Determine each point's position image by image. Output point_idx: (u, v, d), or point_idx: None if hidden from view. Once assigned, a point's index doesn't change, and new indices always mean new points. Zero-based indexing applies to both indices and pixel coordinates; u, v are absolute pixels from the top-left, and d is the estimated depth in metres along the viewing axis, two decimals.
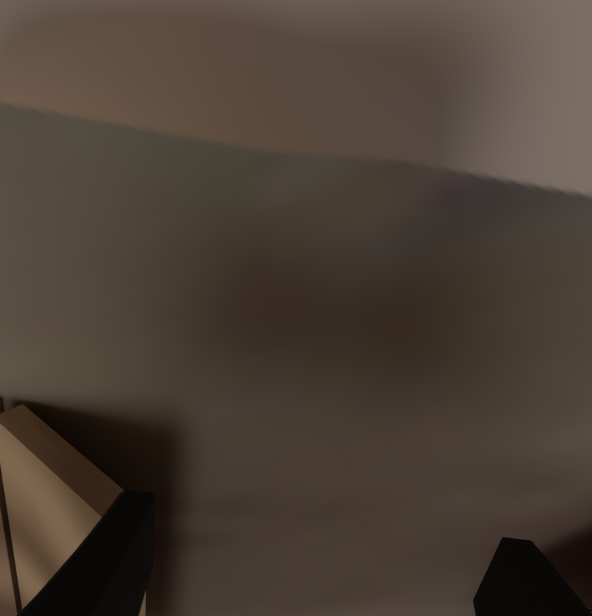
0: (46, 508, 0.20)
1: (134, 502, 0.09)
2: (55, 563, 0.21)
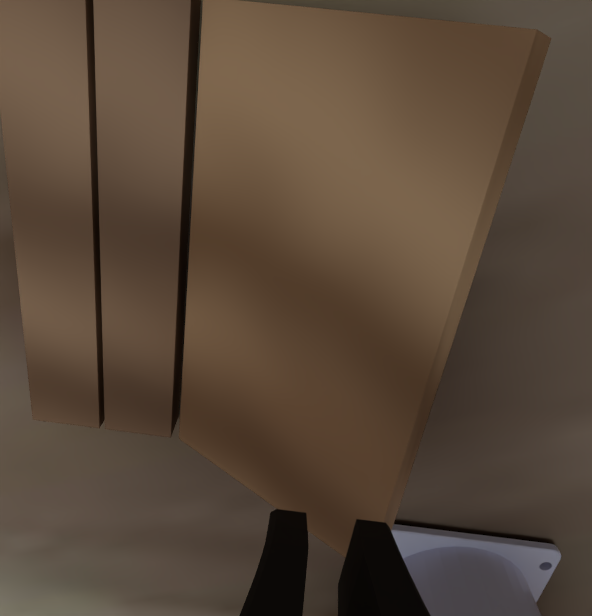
0: (303, 127, 0.12)
1: (292, 522, 0.10)
2: (296, 250, 0.13)
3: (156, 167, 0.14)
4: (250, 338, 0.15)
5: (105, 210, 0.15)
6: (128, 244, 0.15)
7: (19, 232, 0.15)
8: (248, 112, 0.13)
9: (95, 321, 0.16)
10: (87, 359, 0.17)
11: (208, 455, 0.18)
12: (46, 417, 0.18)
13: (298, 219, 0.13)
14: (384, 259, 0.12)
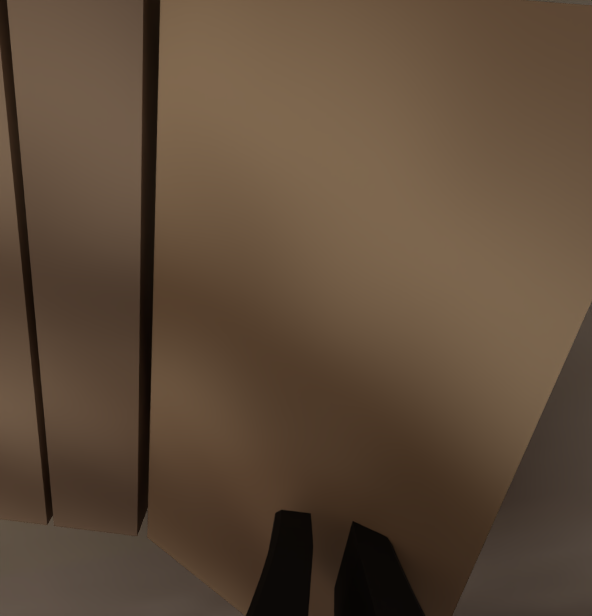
0: (310, 162, 0.08)
1: (297, 523, 0.10)
2: (299, 328, 0.09)
3: (104, 208, 0.10)
4: (236, 432, 0.11)
5: (39, 263, 0.11)
6: (71, 307, 0.12)
7: None
8: (229, 137, 0.09)
9: (35, 400, 0.13)
10: (27, 445, 0.13)
11: (185, 562, 0.14)
12: None
13: (303, 287, 0.09)
14: (432, 352, 0.08)
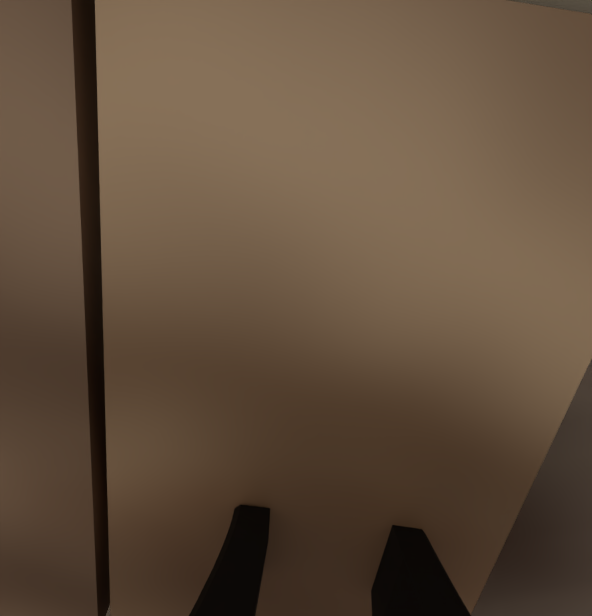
0: (345, 180, 0.07)
1: (254, 517, 0.10)
2: (329, 358, 0.08)
3: (34, 254, 0.08)
4: (245, 485, 0.10)
5: None
6: (0, 376, 0.09)
7: None
8: (225, 157, 0.07)
9: None
10: None
11: None
12: None
13: (334, 315, 0.08)
14: (483, 350, 0.08)
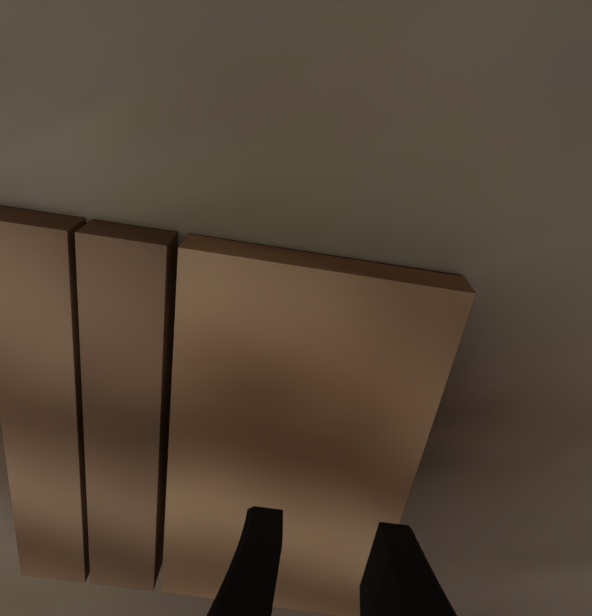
0: (297, 346, 0.14)
1: (268, 519, 0.10)
2: (292, 429, 0.16)
3: (136, 378, 0.15)
4: (246, 497, 0.17)
5: (88, 410, 0.16)
6: (111, 438, 0.16)
7: (7, 426, 0.16)
8: (237, 336, 0.14)
9: (80, 497, 0.17)
10: (73, 527, 0.18)
11: (200, 594, 0.19)
12: (34, 573, 0.19)
13: (294, 408, 0.15)
14: (374, 425, 0.16)
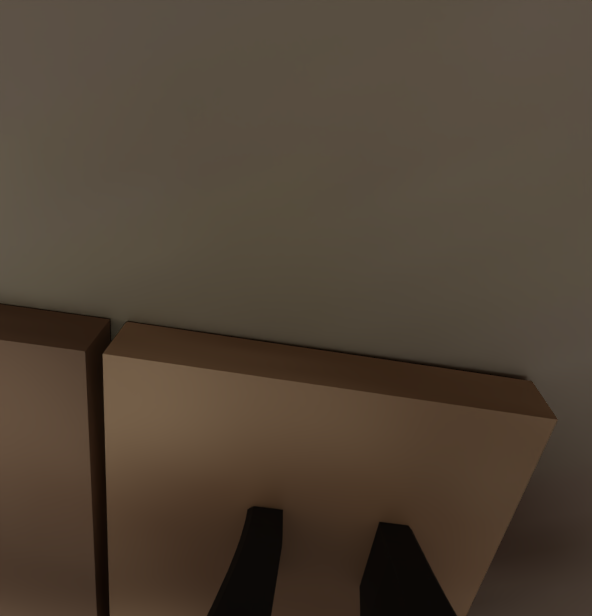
0: (287, 486, 0.10)
1: (268, 519, 0.10)
2: (282, 586, 0.11)
3: (56, 523, 0.10)
4: None
5: None
6: (28, 593, 0.12)
7: None
8: (199, 471, 0.10)
9: None
10: None
11: None
12: None
13: (284, 561, 0.11)
14: None
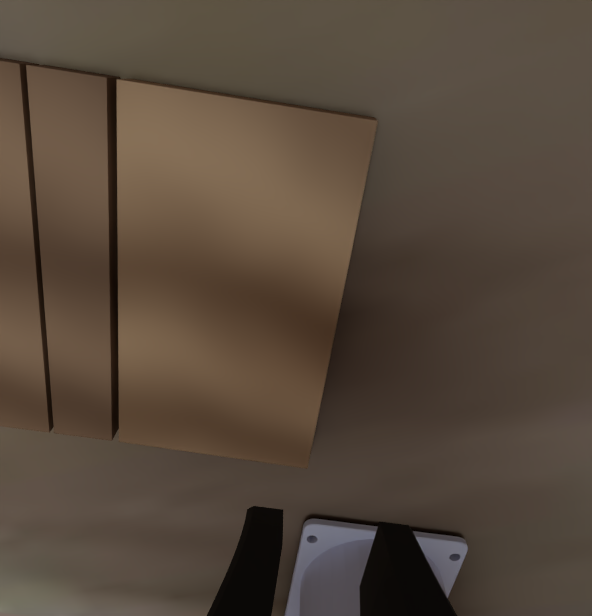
0: (226, 178, 0.16)
1: (268, 519, 0.10)
2: (227, 264, 0.18)
3: (86, 213, 0.17)
4: (190, 337, 0.19)
5: (45, 248, 0.18)
6: (66, 276, 0.18)
7: None
8: (173, 168, 0.16)
9: (42, 340, 0.19)
10: (36, 372, 0.20)
11: (154, 443, 0.21)
12: (2, 423, 0.21)
13: (227, 242, 0.17)
14: (298, 259, 0.17)
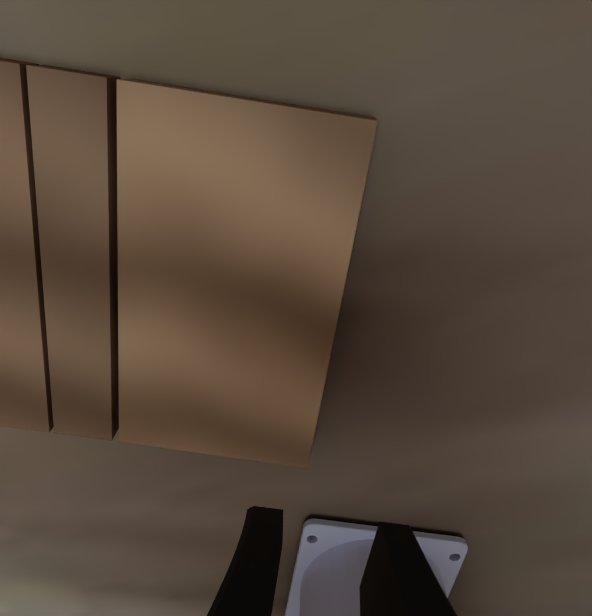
0: (226, 178, 0.16)
1: (268, 519, 0.10)
2: (227, 264, 0.18)
3: (86, 213, 0.17)
4: (190, 337, 0.19)
5: (45, 248, 0.18)
6: (66, 276, 0.18)
7: None
8: (173, 168, 0.16)
9: (42, 340, 0.19)
10: (36, 372, 0.20)
11: (154, 443, 0.21)
12: (2, 423, 0.21)
13: (227, 242, 0.17)
14: (298, 259, 0.17)
